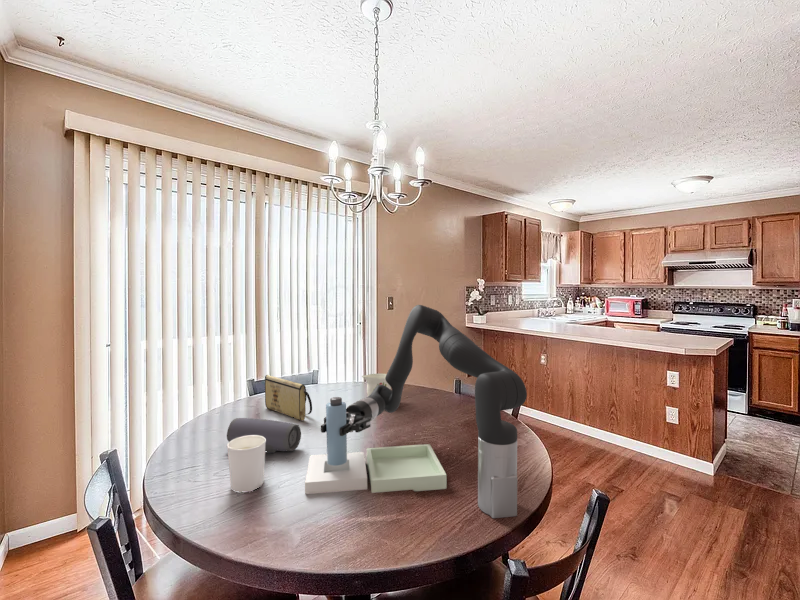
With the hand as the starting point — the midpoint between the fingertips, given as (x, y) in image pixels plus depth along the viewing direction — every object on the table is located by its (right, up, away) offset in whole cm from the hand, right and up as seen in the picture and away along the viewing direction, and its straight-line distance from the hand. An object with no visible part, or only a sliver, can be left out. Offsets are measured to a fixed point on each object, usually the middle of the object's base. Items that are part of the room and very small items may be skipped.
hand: (331, 430), depth 105 cm
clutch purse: (-29, -13, +59) cm, 67 cm away
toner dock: (+1, -15, +3) cm, 15 cm away
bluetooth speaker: (-26, -14, +22) cm, 37 cm away
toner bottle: (+1, -9, +3) cm, 10 cm away
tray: (+20, -14, +6) cm, 25 cm away
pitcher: (+10, -12, +70) cm, 72 cm away
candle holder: (-23, -15, -1) cm, 27 cm away
